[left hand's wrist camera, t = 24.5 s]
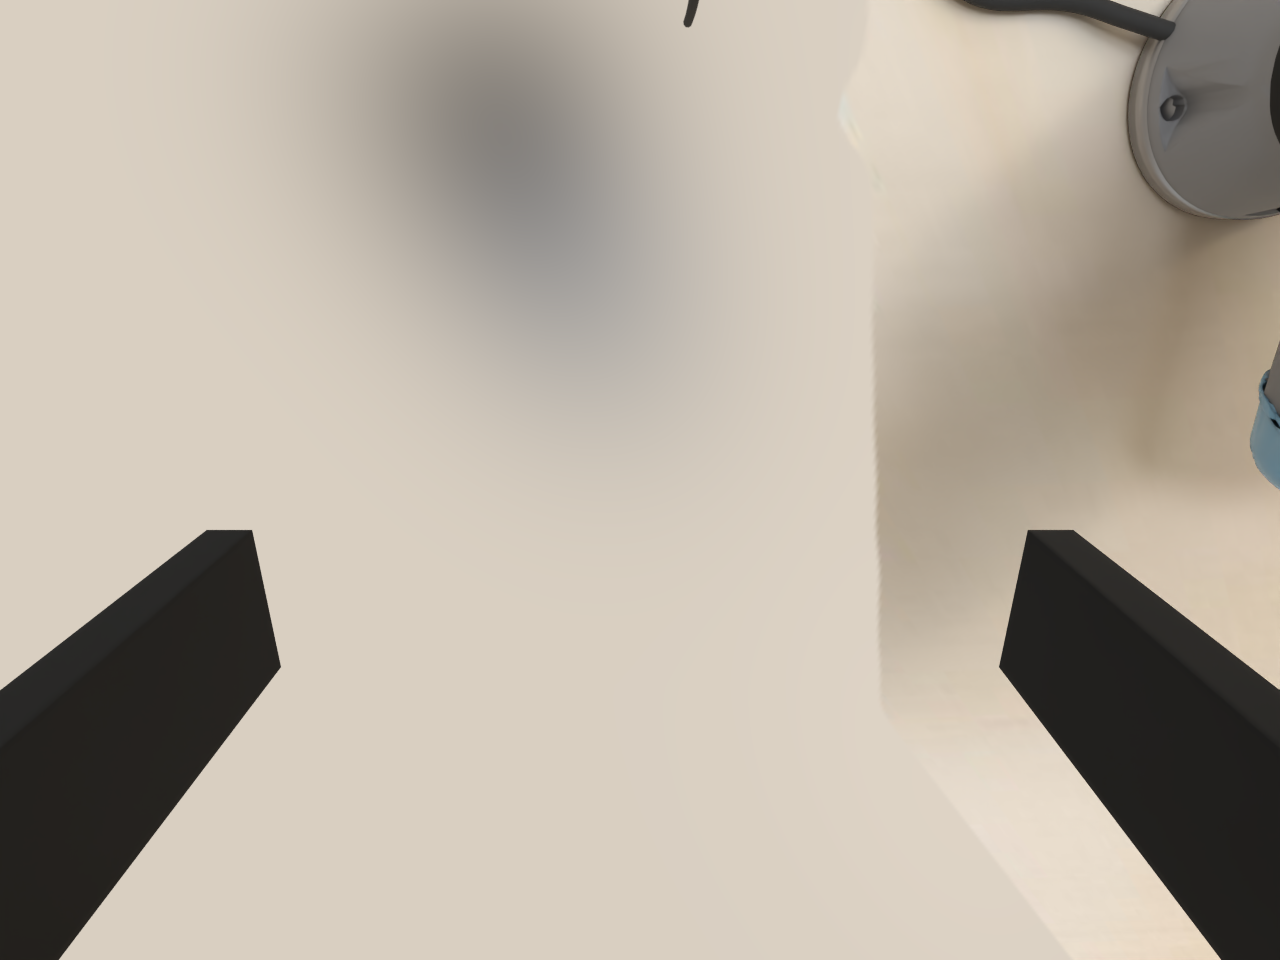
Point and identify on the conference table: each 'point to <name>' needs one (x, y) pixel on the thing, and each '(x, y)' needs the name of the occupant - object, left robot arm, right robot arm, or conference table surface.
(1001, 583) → the conference table surface
